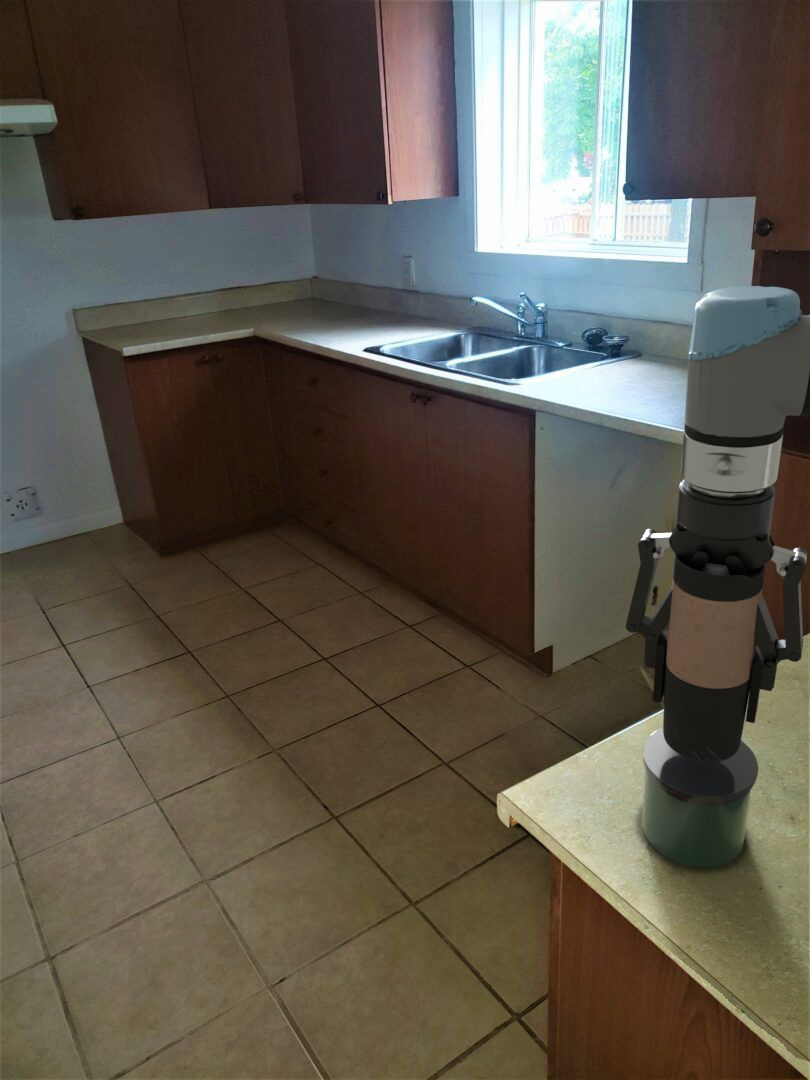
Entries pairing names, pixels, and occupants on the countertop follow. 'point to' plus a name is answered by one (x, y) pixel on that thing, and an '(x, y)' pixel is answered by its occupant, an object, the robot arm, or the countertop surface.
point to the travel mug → (709, 660)
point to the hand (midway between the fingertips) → (704, 703)
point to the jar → (696, 803)
